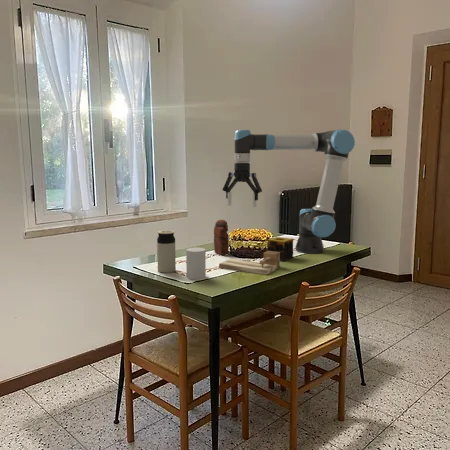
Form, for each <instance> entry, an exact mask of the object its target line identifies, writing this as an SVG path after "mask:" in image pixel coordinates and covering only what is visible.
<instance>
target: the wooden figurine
mask: <svg viewBox="0 0 450 450" xmlns="http://www.w3.org/2000/svg"><path fill="white" fill-rule="evenodd" d="M228 231H229V226H228V222H227V220H225V219H218V220H217V221H216V222H215V224H214V227H213V247H214V253H215V254H217V255H219V256H221V257H224V256H228V255H229V253H230V251H229V250H230V247H229V246H230V243H229V242H230V241H229V240H230V239H229V233H228Z"/></svg>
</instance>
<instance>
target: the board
mask: <svg viewBox="0 0 450 450" xmlns="http://www.w3.org/2000/svg"><path fill="white" fill-rule="evenodd" d="M218 269H225V270H230V271H237V272H245V273H251V274H258V275H265V276H267V274H268V275H270V274H271V273H273V272H274V271H276V270H277V269H278V268H277V265H272V264H264V265H263V267H262V264H260V262H257V261H256V262H255V261H248V260H241V259H233V258H230V259H227V260H224V261H222V262H220V263H219V264H218Z"/></svg>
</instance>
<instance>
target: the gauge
mask: <svg viewBox="0 0 450 450" xmlns="http://www.w3.org/2000/svg"><path fill="white" fill-rule="evenodd" d="M262 258H263V259H260V260H259V263H260V264H262V267H263V265H264V264H272V265H277V269H279V268H280V262H281V261H280V252H274V251H267V250H266V251H265V252H263V257H262Z"/></svg>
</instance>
